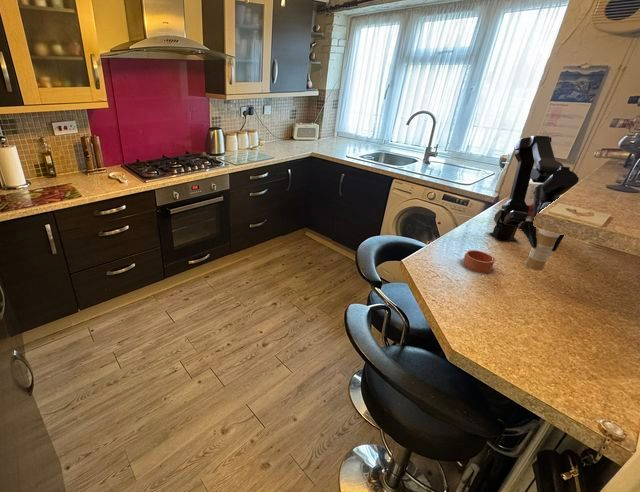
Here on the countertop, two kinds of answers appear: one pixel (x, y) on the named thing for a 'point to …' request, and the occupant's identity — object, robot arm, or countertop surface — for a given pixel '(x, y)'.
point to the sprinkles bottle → (541, 250)
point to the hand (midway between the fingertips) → (543, 249)
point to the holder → (478, 261)
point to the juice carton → (531, 196)
